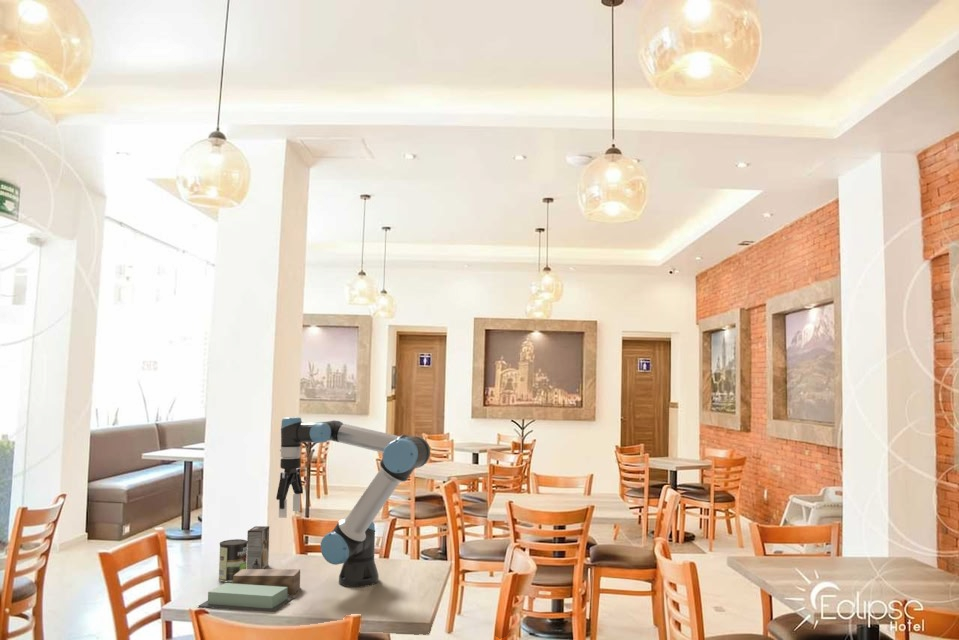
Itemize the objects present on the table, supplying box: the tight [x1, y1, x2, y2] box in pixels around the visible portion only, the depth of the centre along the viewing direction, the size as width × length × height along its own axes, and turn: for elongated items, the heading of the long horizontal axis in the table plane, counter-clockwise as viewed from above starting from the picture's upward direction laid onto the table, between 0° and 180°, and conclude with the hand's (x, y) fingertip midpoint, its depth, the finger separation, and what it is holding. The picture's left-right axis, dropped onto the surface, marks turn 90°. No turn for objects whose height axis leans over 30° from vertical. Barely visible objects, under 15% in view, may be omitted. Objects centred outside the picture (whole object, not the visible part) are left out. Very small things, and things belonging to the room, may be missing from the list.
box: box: [232, 568, 301, 596], centre depth 255 cm, size 22×9×7 cm, turn 90°
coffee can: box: [218, 538, 247, 583], centre depth 272 cm, size 10×10×14 cm
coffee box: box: [246, 525, 270, 569], centre depth 288 cm, size 9×6×16 cm
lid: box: [207, 582, 288, 608], centre depth 241 cm, size 24×11×4 cm, turn 78°
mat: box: [198, 595, 295, 613], centre depth 241 cm, size 28×15×1 cm, turn 81°
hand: (289, 514), depth 265 cm, fingers open, 13 cm apart
